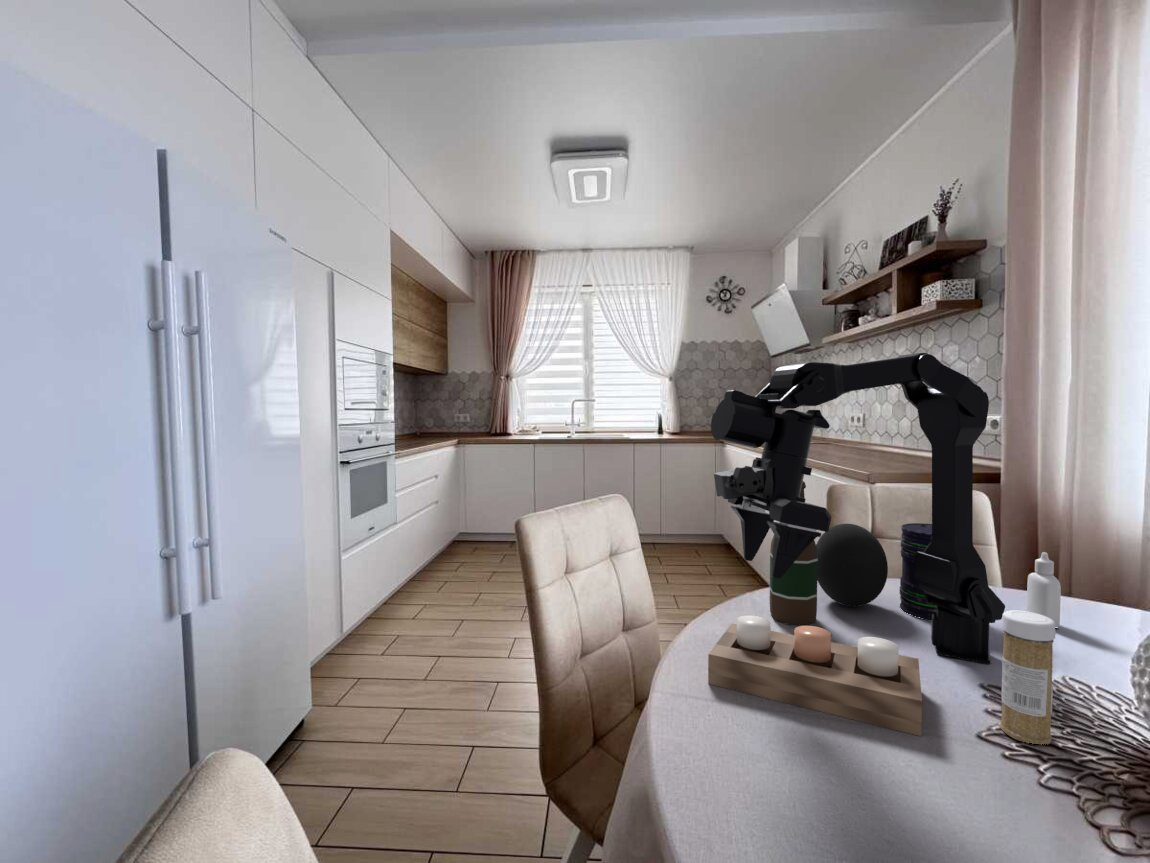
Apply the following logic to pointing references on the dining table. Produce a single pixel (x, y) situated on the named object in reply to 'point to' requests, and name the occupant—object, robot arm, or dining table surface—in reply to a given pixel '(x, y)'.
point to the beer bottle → (796, 587)
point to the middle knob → (812, 643)
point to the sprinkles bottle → (1027, 676)
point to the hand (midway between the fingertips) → (761, 568)
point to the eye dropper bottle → (1044, 590)
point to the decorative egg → (851, 565)
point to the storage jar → (914, 570)
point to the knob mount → (820, 681)
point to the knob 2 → (878, 656)
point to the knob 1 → (753, 632)
